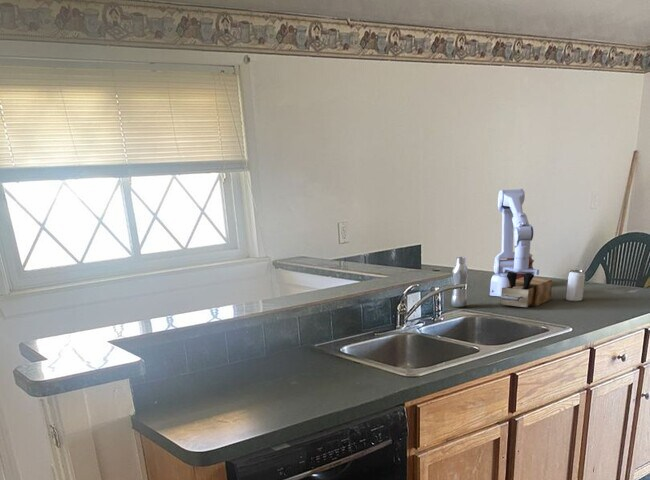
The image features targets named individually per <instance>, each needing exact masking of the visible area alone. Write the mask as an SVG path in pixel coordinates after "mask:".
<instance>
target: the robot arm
mask: <svg viewBox="0 0 650 480" xmlns="http://www.w3.org/2000/svg"><path fill="white" fill-rule="evenodd" d="M525 193H526V192H525V190H524V188H519V189H500V190H499V192H498V195H497V211H499V212H500V213H501V251H500V252H499V253H497V255H496V256H495V258H494V263H493V272H494V274H492V276H491V279H490V290H489V296H490V297H499V298H501V292H502V288H503V287H505V288H506V287H509V282H510V286H511V288H513V287H514V286H515V285H516V278H517V274H518V273H519V274H526V275H524V276H523V277H524V289H526V290H527V289H528V287H529V284H530V282H531V280H532V279H533V278H535V276H538V275H540V269H536V268H533V269H530V268H528V266H529V254H531V242H532V241H533V239H534V226H533V225H532V224H529V220H528V216H527V214H526V213H525V212H524V211H523V204H524V202H525V198H526V197H525V195H526V194H525ZM514 252H515V253H514ZM508 258H511V259H510V260H506V259H508Z"/></svg>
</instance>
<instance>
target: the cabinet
mask: <svg viewBox="0 0 650 480" xmlns="http://www.w3.org/2000/svg"><path fill="white" fill-rule="evenodd" d="M516 285H523V286H524V277H522V278H519V279H517V280H516ZM509 286H510V282H509ZM529 286H534V287H536V294H535V302H534V303H532V304H530V305H529V306H531V307H532V306H533V307H537V306H539V305H541V304H544V303H546V302H549V301H551V298H552V287H553V279H552V278H543V277H533V279H532V280H531V282H530V284H529Z"/></svg>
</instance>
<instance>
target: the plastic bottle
mask: <svg viewBox="0 0 650 480" xmlns="http://www.w3.org/2000/svg"><path fill="white" fill-rule="evenodd" d="M466 261H467V260H466V257H465V256H458V257H456V260H455V263H456V264H455V265H454V267H453V268H452V271H451V273H452V284H453V285H456V284H466V285H467V281H468V275H469V268H468V266H467V265H466ZM453 285H452V286H453ZM450 303H451V306H452V307H456V308H463V307H466V305H467V303H468V296H467V288H466V289H454V290H453V289H452V295H451V300H450Z"/></svg>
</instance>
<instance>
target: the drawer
mask: <svg viewBox="0 0 650 480" xmlns="http://www.w3.org/2000/svg"><path fill="white" fill-rule="evenodd" d="M515 286H517V285H515ZM519 286H523V285H519ZM535 294H536V287H534V286H529V287H528V289H527V290H526V289H515V288H511V286H509V287H506V288H505V287H503V288H502V292H501V297H500V305H503V306H511V307H520V308H529V306H531V305H530V304H532V303H534V302H535Z"/></svg>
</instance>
